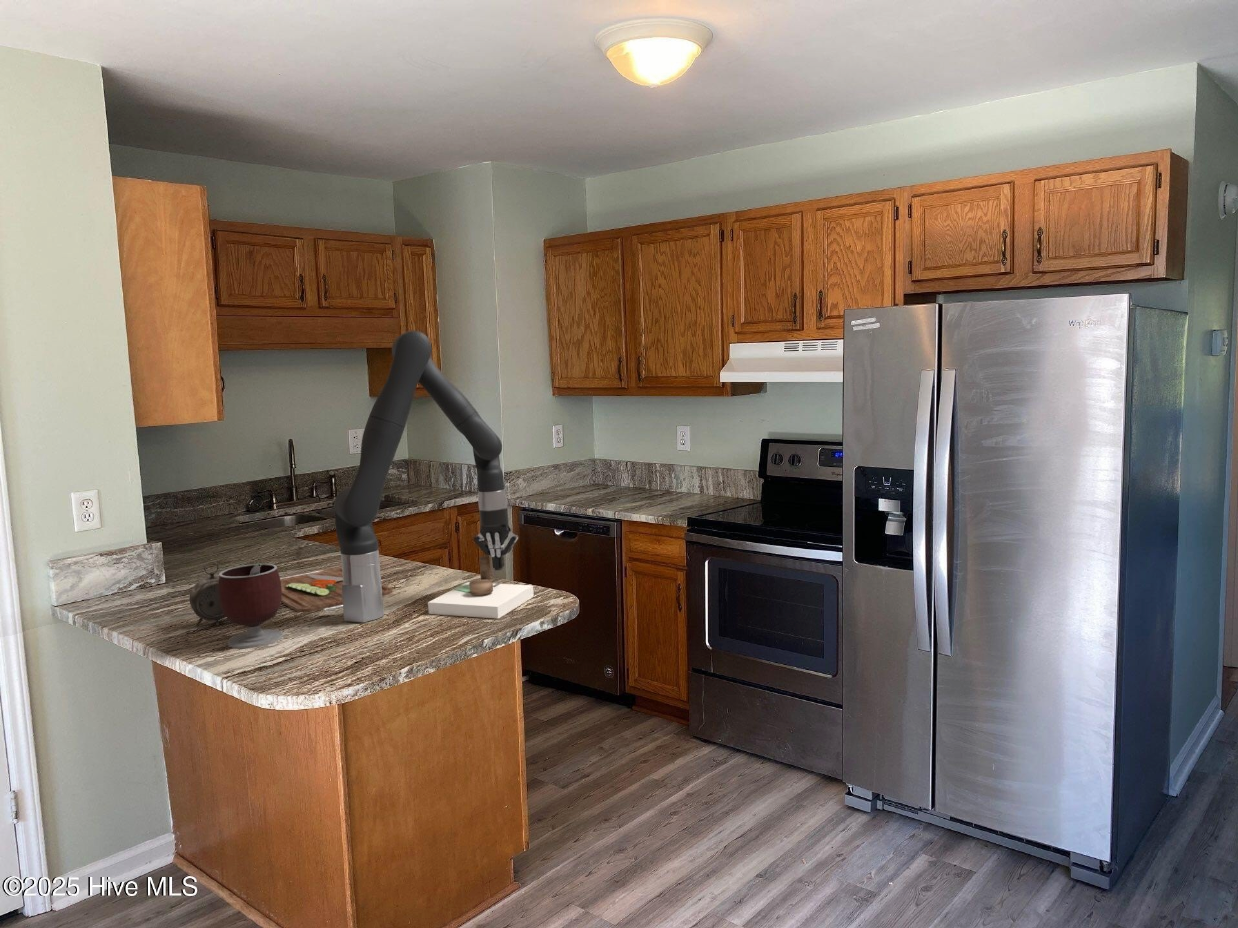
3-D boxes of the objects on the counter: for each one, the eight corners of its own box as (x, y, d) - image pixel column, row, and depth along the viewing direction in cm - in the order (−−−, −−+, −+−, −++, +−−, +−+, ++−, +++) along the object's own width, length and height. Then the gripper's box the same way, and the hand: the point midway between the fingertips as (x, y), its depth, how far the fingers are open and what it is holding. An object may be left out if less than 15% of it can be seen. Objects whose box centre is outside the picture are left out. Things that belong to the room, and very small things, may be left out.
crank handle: (491, 593, 234) (489, 567, 233) (468, 595, 234) (466, 568, 233) (497, 580, 247) (495, 555, 246) (475, 581, 247) (473, 556, 246)
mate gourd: (216, 640, 218) (207, 559, 215) (274, 627, 227) (266, 548, 224) (237, 655, 206) (227, 569, 203) (297, 640, 215) (289, 558, 212)
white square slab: (498, 618, 225) (497, 605, 224) (428, 613, 232) (427, 601, 231) (533, 596, 243) (532, 584, 243) (468, 592, 250) (467, 580, 250)
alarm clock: (237, 616, 237) (231, 556, 235) (241, 621, 233) (235, 559, 231) (192, 625, 231) (185, 563, 229) (195, 630, 227) (188, 567, 225)
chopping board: (251, 586, 271) (250, 576, 271) (338, 569, 287) (337, 560, 287) (304, 617, 236) (302, 605, 235) (399, 596, 252) (399, 585, 252)
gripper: (464, 509, 241) (470, 573, 243) (510, 508, 237) (516, 573, 239) (476, 504, 248) (482, 566, 250) (521, 503, 244) (526, 566, 246)
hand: (499, 569), depth 245 cm, fingers closed
